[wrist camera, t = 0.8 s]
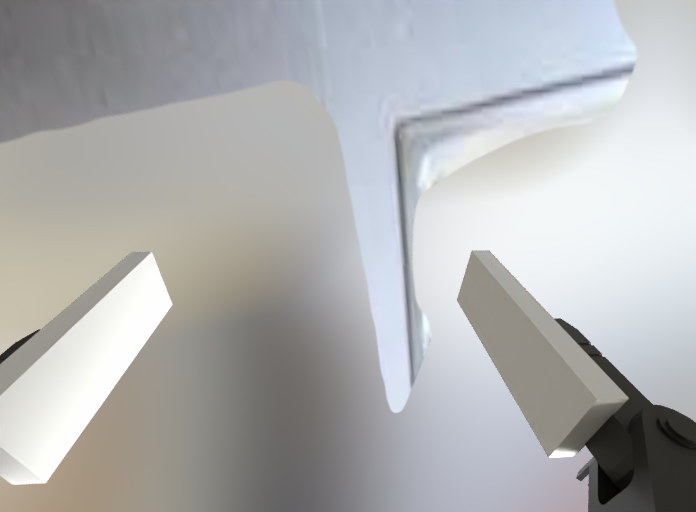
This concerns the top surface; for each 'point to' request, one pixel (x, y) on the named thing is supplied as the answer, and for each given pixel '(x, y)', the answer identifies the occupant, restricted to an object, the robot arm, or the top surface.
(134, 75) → the top surface
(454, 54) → the top surface
